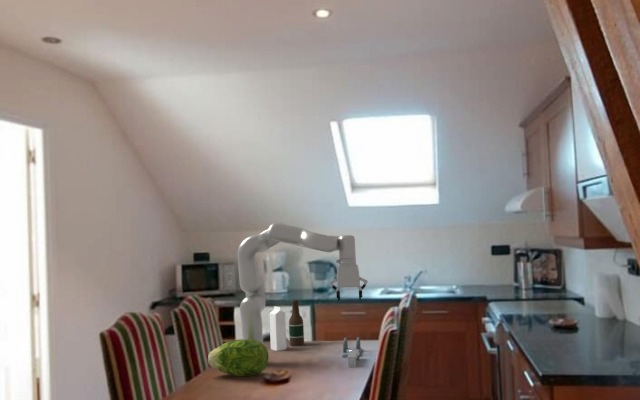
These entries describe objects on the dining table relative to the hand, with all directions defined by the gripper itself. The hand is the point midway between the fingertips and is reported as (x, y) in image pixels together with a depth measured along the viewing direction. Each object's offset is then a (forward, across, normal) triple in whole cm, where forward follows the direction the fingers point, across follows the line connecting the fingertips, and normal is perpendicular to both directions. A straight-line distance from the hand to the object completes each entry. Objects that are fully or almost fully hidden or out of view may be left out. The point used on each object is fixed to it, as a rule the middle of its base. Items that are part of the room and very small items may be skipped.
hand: (349, 299), depth 269 cm
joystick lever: (+29, 0, +1) cm, 29 cm away
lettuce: (+29, -48, -21) cm, 60 cm away
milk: (+29, -41, +32) cm, 60 cm away
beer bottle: (+29, -33, +43) cm, 62 cm away
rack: (+29, -2, +21) cm, 35 cm away
